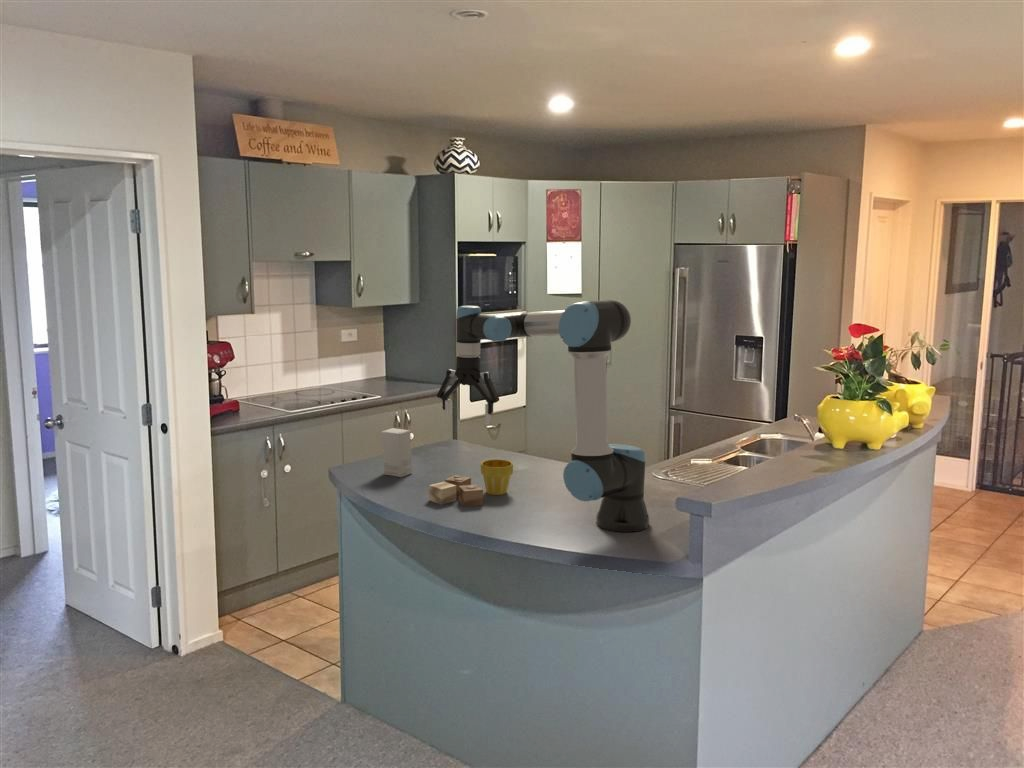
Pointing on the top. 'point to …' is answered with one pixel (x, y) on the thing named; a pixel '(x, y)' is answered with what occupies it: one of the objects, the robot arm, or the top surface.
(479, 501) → the marked block
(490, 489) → the plant pot
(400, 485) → the top surface
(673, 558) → the top surface
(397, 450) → the skincare box
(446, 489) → the plain block
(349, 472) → the top surface
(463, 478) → the marked block
